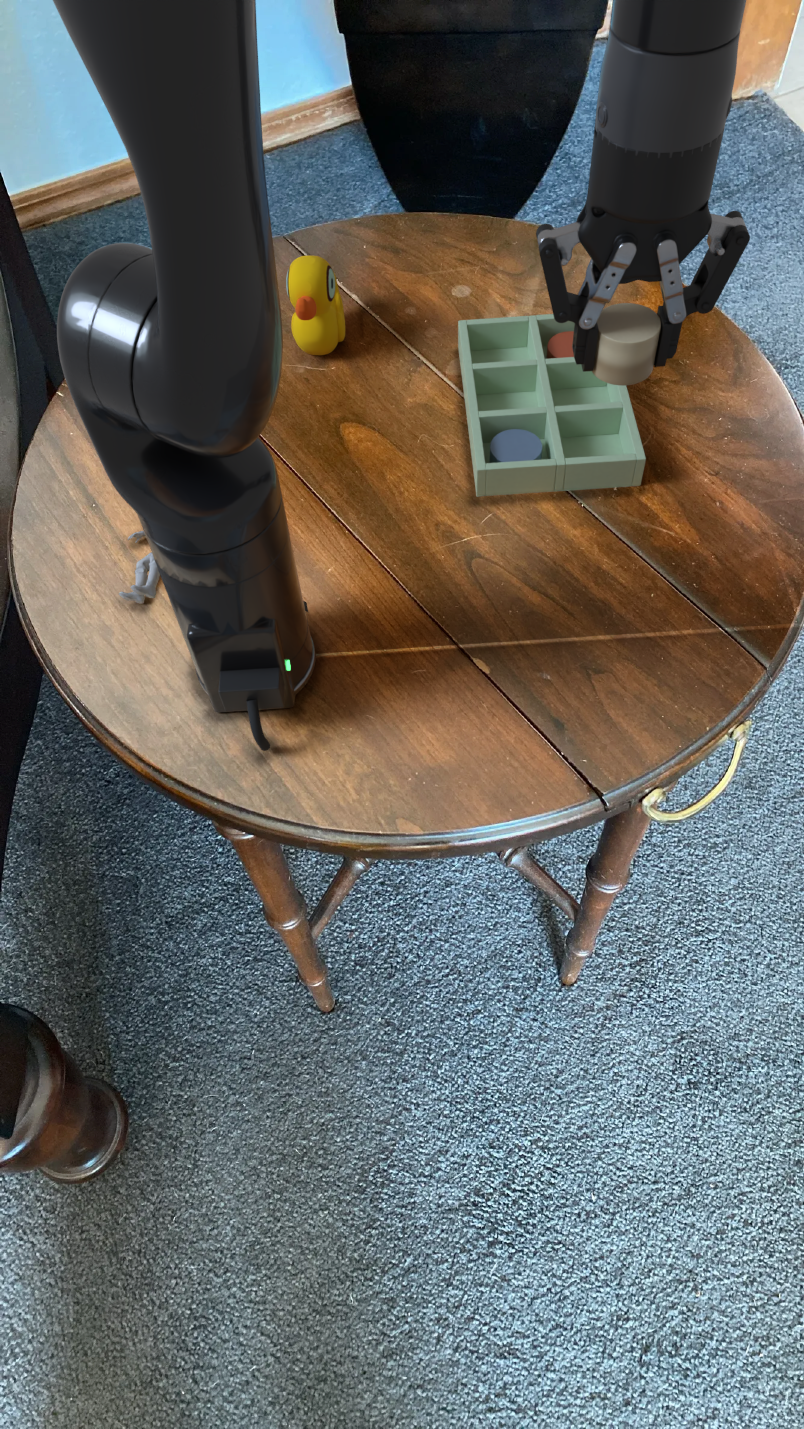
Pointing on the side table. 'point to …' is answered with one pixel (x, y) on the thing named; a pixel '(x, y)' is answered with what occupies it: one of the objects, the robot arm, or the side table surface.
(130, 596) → the soldier figure
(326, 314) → the duckling
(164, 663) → the side table surface
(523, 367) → the green rectangular divided tray
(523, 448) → the slate token
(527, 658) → the side table surface
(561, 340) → the terracotta token
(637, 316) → the cream token
